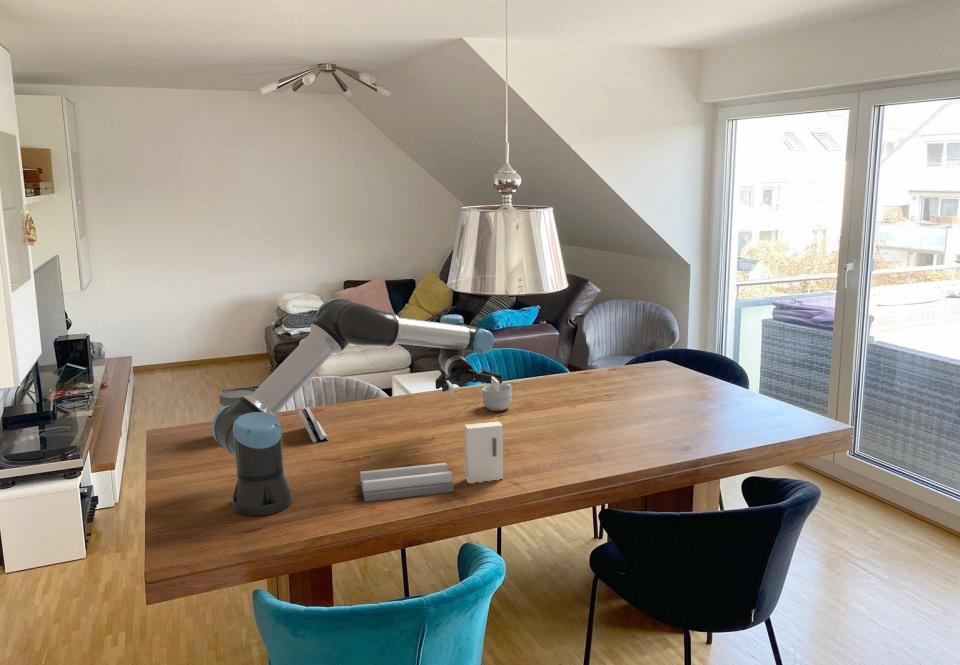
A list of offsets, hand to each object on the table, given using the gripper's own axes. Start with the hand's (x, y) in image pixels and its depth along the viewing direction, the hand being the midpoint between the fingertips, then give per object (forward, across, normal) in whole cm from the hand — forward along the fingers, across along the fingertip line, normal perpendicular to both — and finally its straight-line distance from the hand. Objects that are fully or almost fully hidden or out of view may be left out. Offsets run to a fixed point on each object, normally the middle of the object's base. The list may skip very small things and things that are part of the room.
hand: (475, 388), depth 220 cm
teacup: (-52, -22, -24) cm, 62 cm away
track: (+10, +22, -23) cm, 34 cm away
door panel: (+10, 0, -24) cm, 26 cm away
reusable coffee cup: (-47, +68, -24) cm, 86 cm away
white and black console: (-42, +46, -24) cm, 66 cm away
